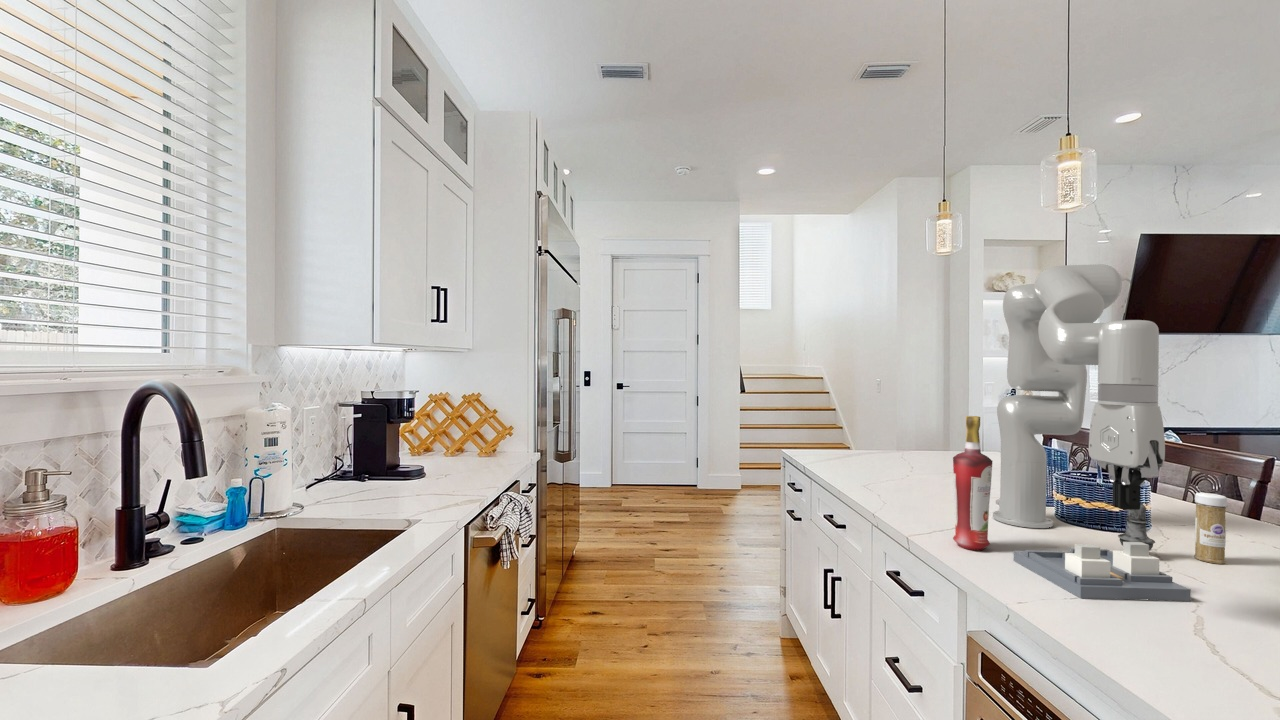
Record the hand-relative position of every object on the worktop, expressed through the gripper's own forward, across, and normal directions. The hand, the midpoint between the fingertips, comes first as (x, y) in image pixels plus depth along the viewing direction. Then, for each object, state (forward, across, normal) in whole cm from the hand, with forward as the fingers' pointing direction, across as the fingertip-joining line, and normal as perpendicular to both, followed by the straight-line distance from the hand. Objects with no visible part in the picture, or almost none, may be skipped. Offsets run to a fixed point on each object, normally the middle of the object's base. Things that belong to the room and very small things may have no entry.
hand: (1126, 508), depth 93 cm
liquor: (+16, -29, -9) cm, 34 cm away
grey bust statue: (+16, -26, +23) cm, 38 cm away
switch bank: (+16, -12, +4) cm, 20 cm away
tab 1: (+14, -7, -1) cm, 15 cm away
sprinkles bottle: (+16, -24, +36) cm, 46 cm away
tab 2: (+14, -9, +9) cm, 19 cm away
